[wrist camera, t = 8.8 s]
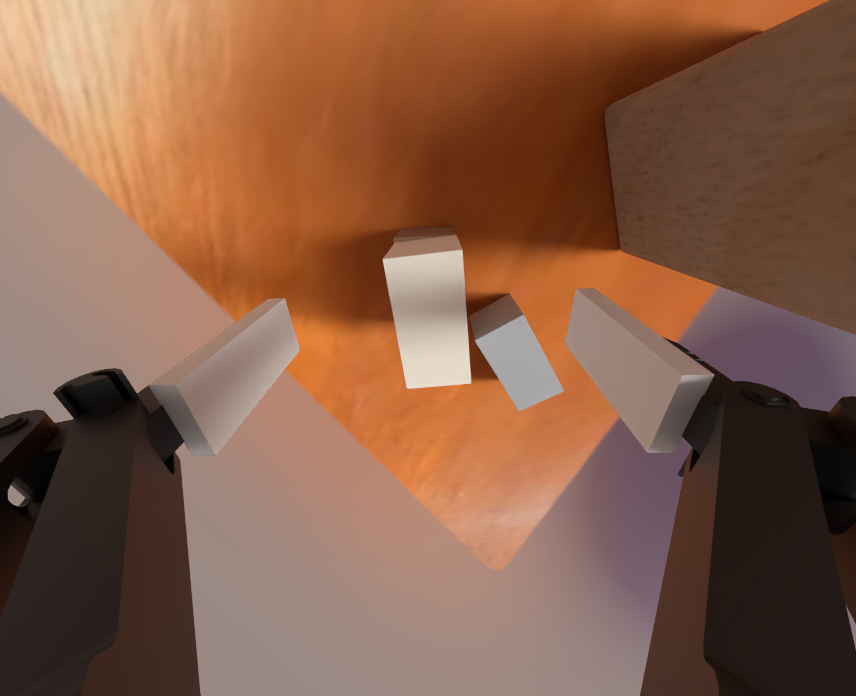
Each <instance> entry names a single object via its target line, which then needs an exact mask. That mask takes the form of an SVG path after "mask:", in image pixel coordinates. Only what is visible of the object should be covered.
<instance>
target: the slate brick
mask: <svg viewBox="0 0 856 696" xmlns="http://www.w3.org/2000/svg"><path fill="white" fill-rule="evenodd" d="M469 320H470V324H471V328H472V332H473V336H474V340H475V342H476V344H477V345H478V347H479V348H480V350H481V352H482V353H483V355H484V356H485V358H486V359H487V361H488V363H489V364H490V366H491V367H492V369H493V371H494V372H495V374H496V375H497V377H498V378H499V380H500V382H501V383H502V385H503V386H504V388H505V389H506V391H507V393H508V394H509V396H510V397H511V399H512V401H513V402H514V404H515V405H516V407H517V408H518V410H519V411H521V410H523V409H525V408H528V407H530V406H532V405H534V404H537V403H539V402H541V401H544V400H546V399H548V398H550V397H553V396H555V395H557V394H559V393H562V392H564V390H563V388H562V386H561V384H560V383H559V381H558V379H557V377H556V375H555V373H554V371H553V369H552V367H551V365H550V364H549V362H548V360H547V358H546V356H545V354H544V352H543V350H542V348H541V346H540V345H539V343H538V341H537V339H536V337H535V335H534V333H533V331H532V329H531V327H530V326H529V324H528V322H527V320H526V318H525V316H524V314H523V313H522V311H521V310H520V308H519V307H518V305H517V304H516V303H515V301H514V300H513V298H512V297H511V295H510V294H507V295H505V296H504V297H502V298H500V299H498V300H497V301H495V302H493V303H491V304H489V305H488V306H486V307H484V308H482V309H481V310H479V311H477V312H475V313H473V314H472V315H470V316H469Z"/></svg>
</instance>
